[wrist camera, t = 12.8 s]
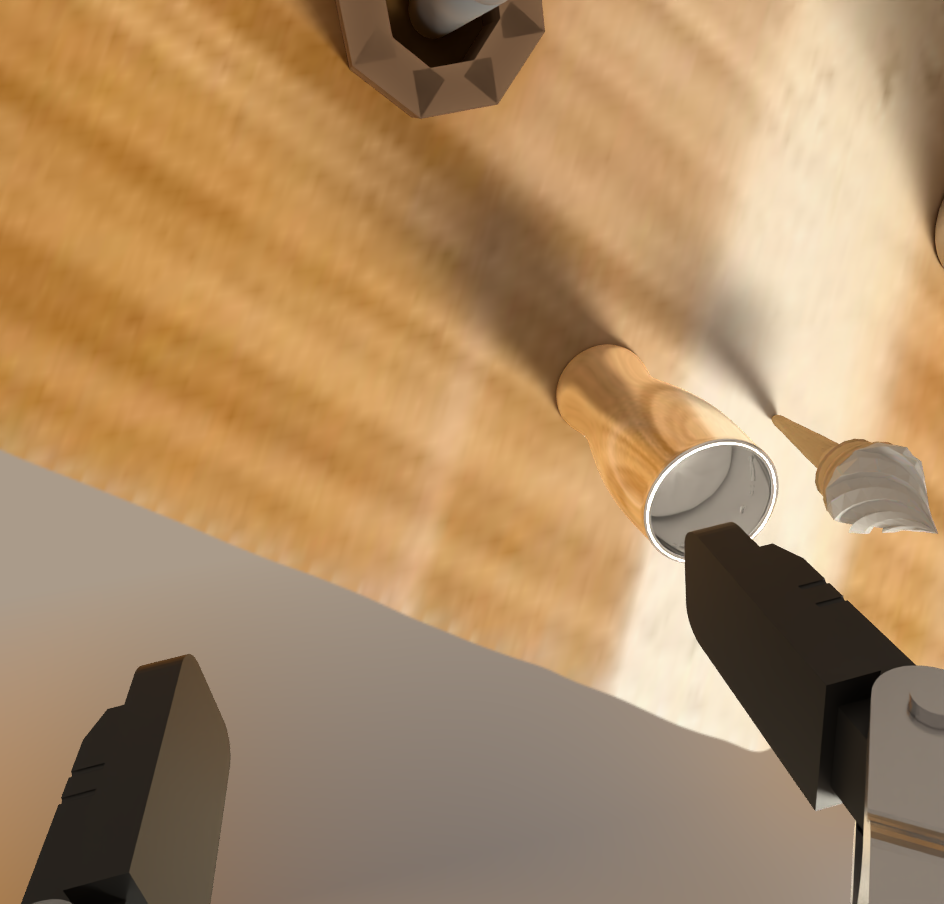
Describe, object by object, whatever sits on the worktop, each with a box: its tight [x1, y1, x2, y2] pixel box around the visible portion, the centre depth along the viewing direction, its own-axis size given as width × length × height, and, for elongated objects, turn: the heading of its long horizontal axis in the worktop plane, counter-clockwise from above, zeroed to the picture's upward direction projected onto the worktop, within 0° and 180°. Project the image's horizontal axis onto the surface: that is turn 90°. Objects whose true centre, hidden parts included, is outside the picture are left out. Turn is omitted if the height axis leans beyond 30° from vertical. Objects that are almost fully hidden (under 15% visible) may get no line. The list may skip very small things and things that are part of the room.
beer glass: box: [556, 344, 778, 563], centre depth 40 cm, size 7×7×15 cm
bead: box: [335, 0, 545, 119], centre depth 34 cm, size 9×9×4 cm
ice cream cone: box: [772, 415, 938, 534], centre depth 43 cm, size 6×6×15 cm
